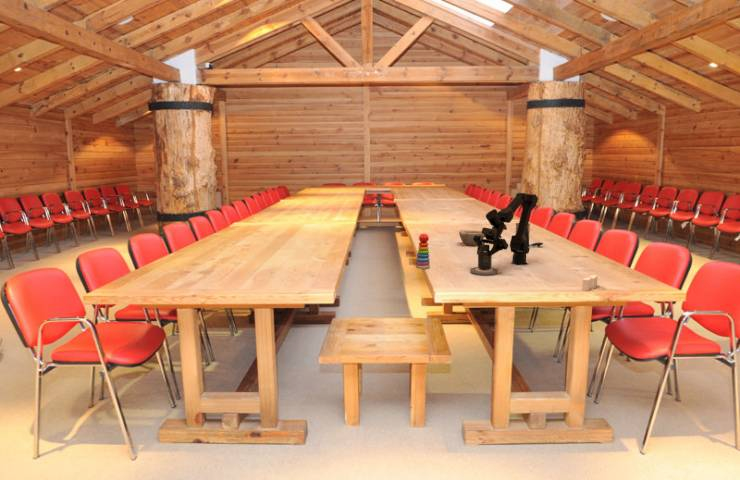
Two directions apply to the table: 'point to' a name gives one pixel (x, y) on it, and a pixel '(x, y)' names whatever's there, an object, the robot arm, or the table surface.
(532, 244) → the milk frother
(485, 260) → the supplement bottle
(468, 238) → the mortar
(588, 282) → the napkin holder
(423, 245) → the stacking toy
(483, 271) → the hub pad
